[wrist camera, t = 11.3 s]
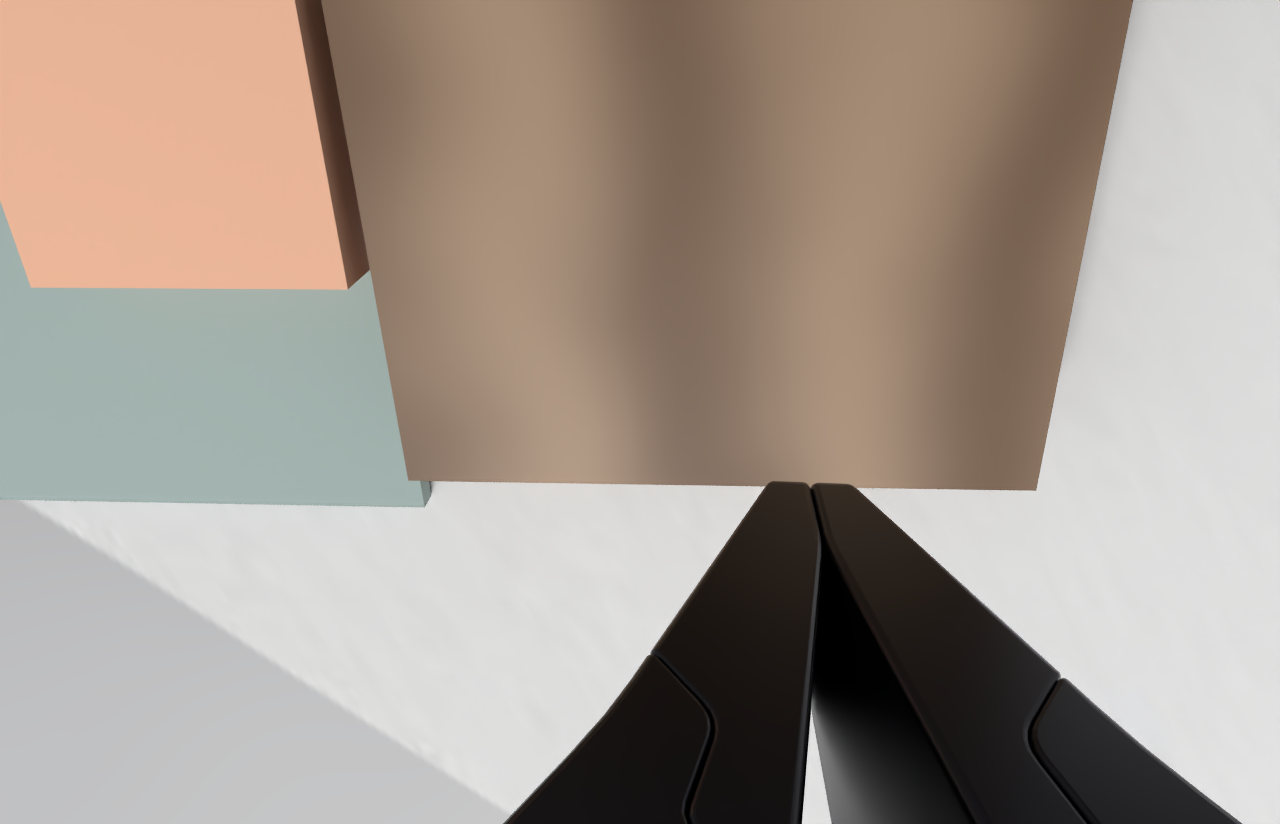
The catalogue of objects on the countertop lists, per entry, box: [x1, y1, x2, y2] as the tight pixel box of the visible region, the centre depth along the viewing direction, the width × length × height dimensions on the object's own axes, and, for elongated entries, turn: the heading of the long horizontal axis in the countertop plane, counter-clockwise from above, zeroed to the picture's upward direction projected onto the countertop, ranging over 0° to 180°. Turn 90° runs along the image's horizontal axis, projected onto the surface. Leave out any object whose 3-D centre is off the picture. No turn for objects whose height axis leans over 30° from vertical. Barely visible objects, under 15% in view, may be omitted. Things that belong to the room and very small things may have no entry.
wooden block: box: [321, 0, 1133, 491], centre depth 17 cm, size 14×16×2 cm
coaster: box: [0, 0, 370, 290], centre depth 18 cm, size 7×7×2 cm
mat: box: [0, 201, 431, 507], centre depth 20 cm, size 16×20×1 cm
